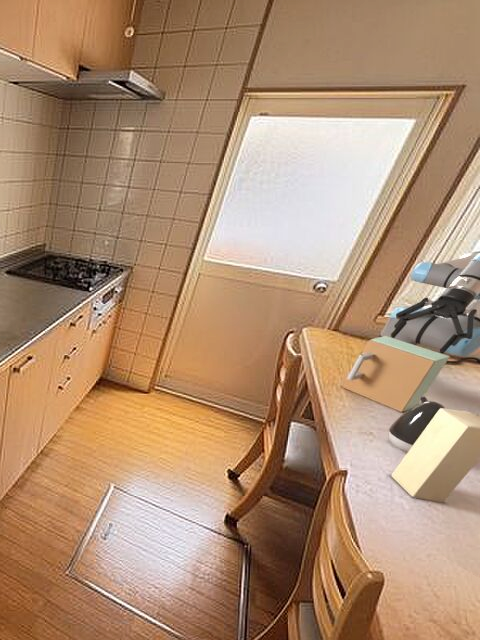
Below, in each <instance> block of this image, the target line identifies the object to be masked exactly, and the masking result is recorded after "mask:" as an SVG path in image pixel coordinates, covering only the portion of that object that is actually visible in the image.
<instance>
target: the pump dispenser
mask: <svg viewBox="0 0 480 640" xmlns="http://www.w3.org/2000/svg"><path fill="white" fill-rule="evenodd" d="M420 399H421V401H420V402H419V404H418V405H416V406H414V407H412V408H411V409H408V410H406V411H404V413H402V415H400V416H398V418H397V419H396V420H395V421H394V422H393V423H392V424H391V425H390V427H389V428H388V439H389V441H390V442H391V444H392V445H393V446H394V447H396V448H397V449H399V450H401V451H402V452H405V453H408V452H409V450H410V449H411V447H412V446H413V445H414V443H415V442H416V441H417V439H418V438H419V436H420V435H421V434H422V432H423V431H424V430H425V428H426V427H427V425H428V424H429V423H430V421H431V420H432V419H433V417H434V416H435V414H436V413H437V412H438V410H439V409H440V408H444V409H446V407H445V406H444V405H443V404H441V403H440V402H437V401H431V400H429V401H428V399H427V398H426V396H423V397H421V398H420Z"/></svg>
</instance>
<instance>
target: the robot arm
mask: <svg viewBox="0 0 480 640" xmlns="http://www.w3.org/2000/svg"><path fill="white" fill-rule="evenodd" d="M410 279H411V281H413V282H417V283H419V284H425V285H430V286H435V287H440V288H444V289H445V290H444V291H443V292H442V294H441V295H439V297H438V298H437V299H436V300H431V299H429V297H424V298H422V299H421V300H420V301H418V302H417V303H415V304H413V305H411V306H398V307H396V308H395V309H394V310H393V311H392V313H391V314H390V315H389V317H388V319H387V320H386V323H385V325H384V326H383V328H382V330H381V332H380V333H379V336H377V338H379V337H384V336H387V337H390V338H394V339H397V340H400V341H403V342H406V343H409V344H413V345H416V346H418V345H421V346H424V347H427V348H431V349H434V350H437V351H439V353H441V354H444V353H446V354H447V355H454V356H458V357H459V358H457V360H447V362H446V363H445V364H459V363H461V361H463V360H464V361H467V360H474V361H477V363H480V358H479V357H474V356H469V355H471V354H472V353H474V352H475V351H477V350H479V348H480V251H474V252H473V251H472V252H468V253H465V254H464V255H462V256H460V257H459V258H454V259H451V260H447V261H443V262H438V263H433V262H428V261H422V262H419V263H418V264H417V265H416V266H415V267H414V268H413V270H412V272H411V274H410ZM429 305H431V306H430V307H428V306H429ZM424 307H427V308H424ZM466 356H467V357H466Z"/></svg>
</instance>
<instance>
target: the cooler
mask: <svg viewBox="0 0 480 640" xmlns="http://www.w3.org/2000/svg"><path fill="white" fill-rule="evenodd" d="M378 337H379V336H378ZM378 337H374V338H371V339H370V340H373V341H376V342H379V343H382V344H385V345H388V346H391V347H394V348H397V349H401V350H404V351H407V352H410V353H413V354H416V355H419V356H422V357H425V358H428V359H431V360H434V361H435V363H434V364H433V366H432V367H431V369H430V370H429V372H428V374H427V375H426V377H425V378H424V380H423V381H422V383H421V384H420V386H419V387H418V389H417V390H416V392H415V393H414V395H413V396H412V398H411V399H410V401H409V403H408V404H407V406H406V407H405V409H404V410H403V412H406V411H408V410H409V409H411V408H412V407H414V406H416V405H418V404H420V403H421V399H420V398H421V397H425V394H426V393H427V392H428V390H429V389H430V388H431V386H432V384H433V383H434V381H435V380H436V378H437V377H438V375H439V374H440V372H441V371H442V370H443V368H444V366H446V364H447V363H446V362H447V361H449V359H450V358H451V356H450V355H449V354H444V353H443V354H442V353H440V352H438V351H434V350H432V349H429V348H425V347H421V346H419V345H413V344H409V343H406V342H403V341H400V340H397V339H394V338H390V337H387V336H384V337H379V338H378Z"/></svg>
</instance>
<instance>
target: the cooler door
mask: <svg viewBox="0 0 480 640" xmlns="http://www.w3.org/2000/svg"><path fill="white" fill-rule="evenodd" d="M434 363H435V361H434V360H431V359H428V358H425V357H422V356H419V355H416V354H413V353H410V352H407V351H404V350H401V349H397V348H394V347H391V346H388V345H385V344H382V343H379V342H376V341H373V340H371V339H369V340H368V341H367V343H366V345H365V347H364V348H363V350H362V352H361V354H359V356H358V358H357V359H356V361H355V362H354V365H353V366H352V368H351V370H350V372H349V373H348V375H347V377H346V380H345V383H344V384H343V386H342V388H343V389H346V390H347V391H350V392H353V393H355V394H357V395H360V396H362V397H364V398H367V399H369V400H372V401H374V402H377V403H379V404H382V405H383V406H385V407H389V408H391V409H393V410H395V411H398V412H400V413H402V412H404V411H403V410H404V409H405V407H406V406H407V404H408V403H409V401H410V399H411V398H412V396H413V395H414V393H415V392H416V390H417V389H418V387H419V386H420V384H421V383H422V381H423V380H424V378H425V377H426V375H427V374H428V372H429V370H430V369H431V367H432V366H433V364H434Z"/></svg>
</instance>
